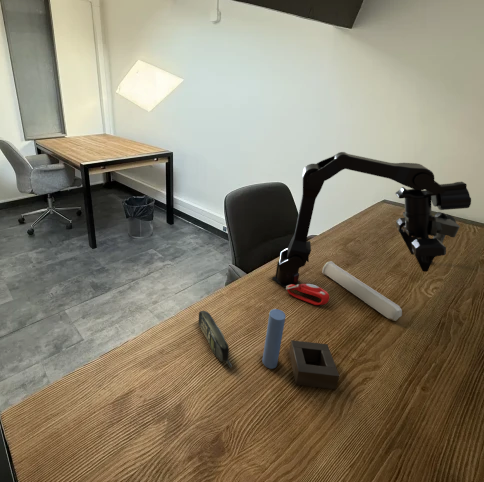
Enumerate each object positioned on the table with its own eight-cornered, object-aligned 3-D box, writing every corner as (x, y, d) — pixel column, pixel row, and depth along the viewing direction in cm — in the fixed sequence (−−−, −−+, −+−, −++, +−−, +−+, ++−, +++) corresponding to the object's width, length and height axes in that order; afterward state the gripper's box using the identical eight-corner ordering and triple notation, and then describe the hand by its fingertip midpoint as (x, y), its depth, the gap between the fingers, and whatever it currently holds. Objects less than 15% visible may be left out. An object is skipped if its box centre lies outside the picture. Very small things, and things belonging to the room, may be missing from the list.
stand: (288, 352, 73) (291, 340, 72) (324, 356, 73) (327, 344, 71) (295, 384, 66) (298, 371, 64) (335, 389, 65) (339, 376, 64)
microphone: (421, 265, 113) (438, 216, 106) (416, 256, 119) (432, 209, 112) (443, 269, 110) (462, 220, 104) (437, 260, 116) (455, 212, 110)
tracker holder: (311, 280, 100) (337, 291, 91) (308, 293, 100) (334, 306, 91) (283, 280, 94) (307, 292, 85) (280, 294, 94) (305, 308, 85)
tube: (409, 308, 84) (335, 261, 105) (399, 308, 81) (326, 260, 102) (400, 324, 85) (329, 274, 106) (390, 325, 83) (319, 274, 104)
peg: (259, 360, 71) (266, 312, 66) (269, 353, 73) (276, 306, 68) (270, 371, 68) (278, 322, 64) (280, 364, 70) (288, 316, 66)
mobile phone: (196, 310, 79) (224, 354, 66) (207, 307, 80) (236, 350, 67) (196, 325, 81) (223, 371, 68) (206, 322, 82) (234, 367, 69)
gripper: (473, 222, 70) (471, 281, 74) (440, 196, 87) (440, 245, 91) (416, 226, 74) (417, 281, 78) (394, 200, 91) (396, 247, 95)
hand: (419, 262), depth 85 cm, fingers open, 9 cm apart
